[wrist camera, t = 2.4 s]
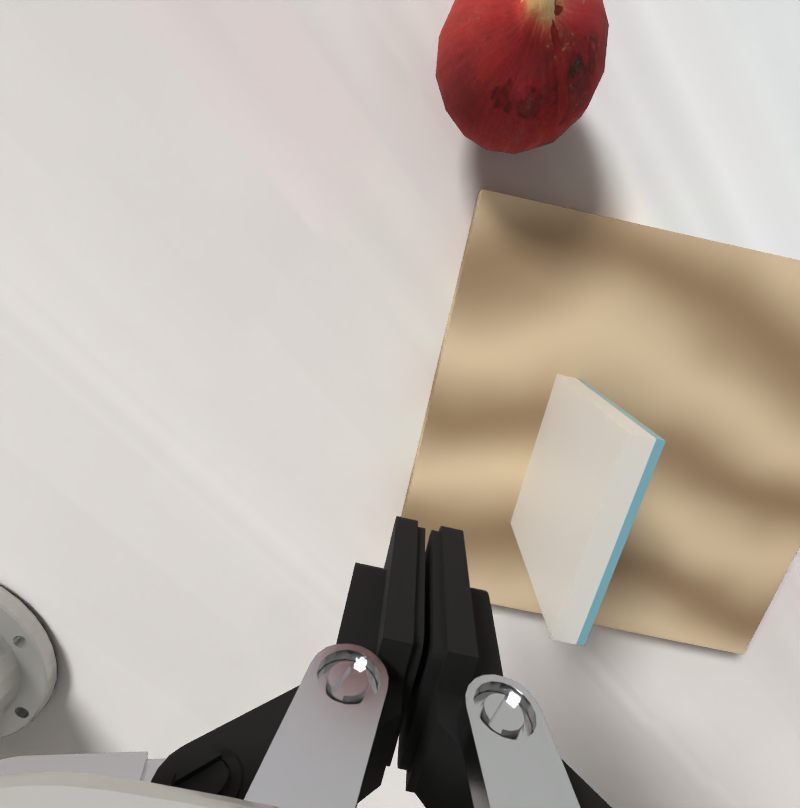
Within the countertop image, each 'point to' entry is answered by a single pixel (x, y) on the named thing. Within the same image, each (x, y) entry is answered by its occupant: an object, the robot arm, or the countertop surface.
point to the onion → (520, 68)
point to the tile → (580, 502)
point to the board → (624, 408)
